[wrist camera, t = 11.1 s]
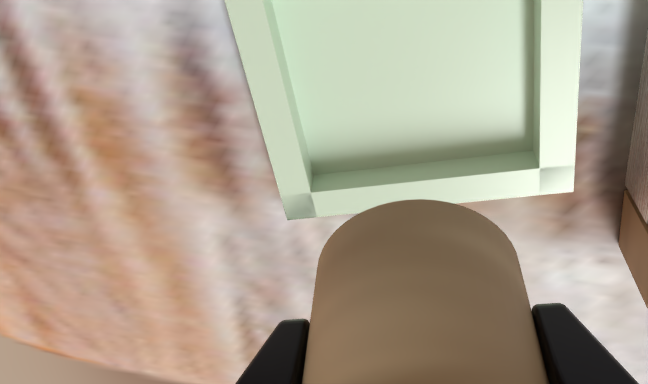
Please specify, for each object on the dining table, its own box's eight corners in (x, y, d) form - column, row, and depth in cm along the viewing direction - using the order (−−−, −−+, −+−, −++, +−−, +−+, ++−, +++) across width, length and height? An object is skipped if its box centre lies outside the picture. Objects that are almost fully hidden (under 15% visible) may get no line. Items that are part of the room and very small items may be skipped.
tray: (573, -145, 15) (590, -135, 14) (562, 164, 20) (573, 191, 19) (220, -77, 16) (207, -63, 15) (292, 193, 22) (287, 220, 20)
